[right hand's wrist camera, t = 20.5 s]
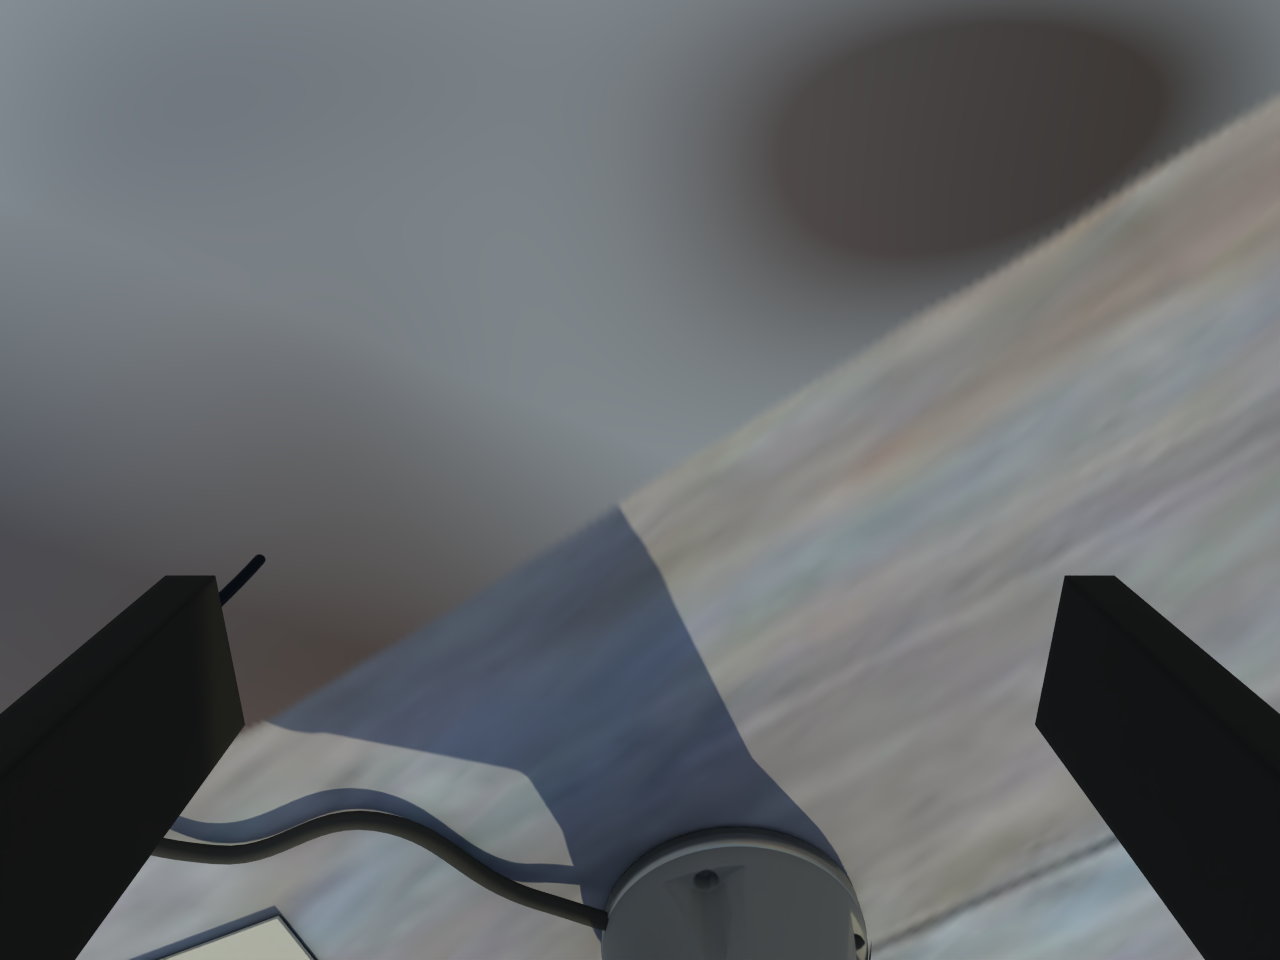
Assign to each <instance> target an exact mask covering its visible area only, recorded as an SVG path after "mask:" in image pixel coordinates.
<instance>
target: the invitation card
mask: <svg viewBox="0 0 1280 960" xmlns="http://www.w3.org/2000/svg"><path fill="white" fill-rule="evenodd" d="M160 960H314V959H313V958H312V957H311V955H310V954H309V953H308V952H307V950H306V949H305V948H304V947H303V945H302V944H301V943H300V942H299V940H298V939H297V938H296V937H295V935H294V934H293V933H292V932H291V931H290V929H289V928H288V927H287V926H286V924H285V923H284V922H283V921H282V919H281V918H280V917H279V916H276V917H274V918H271V919H268V920H266V921H263V922H260V923H257V924H255V925H252V926H249V927H247V928H244V929H241V930H238V931H236V932H233V933H230V934H228V935H225V936H222V937H219V938H217V939H214V940H211V941H209V942H206V943H203V944H200V945H198V946H195V947H192V948H190V949H187V950H184V951H181V952H179V953H176V954H173V955H171V956H168V957H165V958H162V959H160Z"/></svg>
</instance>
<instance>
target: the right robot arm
mask: <svg viewBox="0 0 1280 960" xmlns="http://www.w3.org/2000/svg"><path fill="white" fill-rule="evenodd" d="M265 561H266V559H265V557H264V556H263V555H261V554H258V555H256V556H255V557H254V558H253V559H252V560H251V561H250V562H249V563H248V564H247V565H246V566H245V567H244V568H243V569H242V570H241V571H240V572H239V573H238V574H237V575H236V576H235V577H234V578H233V579H232V580H231V581H230V582H229V583H228V584H227V585H226V586H225V587H224V588H223V589H222V590H221V591H220V592H218V587H217V582H216V577H215V576H165V577H163V578H162V579H161V580H160V581H159V582H157V583H156V584H155V585H154V586H153V587H151V588H150V589H149V590H148V591H147V592H145V593H144V594H143V595H142V596H141V597H139V598H138V599H137V600H136V601H135V602H134V603H132V604H131V605H130V606H129V607H128V608H126V609H125V610H124V611H123V612H122V613H120V614H119V615H118V616H117V617H116V618H114V619H113V620H112V621H111V622H110V623H108V624H107V625H106V626H105V627H104V628H102V629H101V630H100V631H99V632H98V633H96V634H95V635H94V636H93V637H92V638H91V639H89V640H88V641H87V642H86V643H85V644H83V645H82V646H81V647H80V648H79V649H77V650H76V651H75V652H74V653H73V654H71V655H70V656H69V657H68V658H67V659H66V660H64V661H63V662H62V663H61V664H59V665H58V666H57V667H56V668H55V669H54V670H52V671H51V672H50V673H49V674H48V675H46V676H45V677H44V678H43V679H42V680H40V681H39V682H38V683H37V684H36V685H34V686H33V687H32V688H31V689H30V690H28V691H27V692H26V693H25V694H24V695H22V696H21V697H20V698H19V699H18V700H17V701H15V702H14V703H13V704H12V705H11V706H9V707H8V708H7V709H6V710H5V711H3V712H2V713H1V714H0V960H75V959H76V958H77V956H78V955H79V953H80V952H81V951H82V949H83V948H84V947H85V945H86V944H87V942H88V941H89V940H90V938H91V937H92V936H93V934H94V933H95V931H96V930H97V929H98V927H99V926H100V924H101V923H102V922H103V920H104V919H105V918H106V916H107V915H108V913H109V912H110V911H111V909H112V908H113V906H114V905H115V904H116V902H117V901H118V900H119V898H120V897H121V895H122V894H123V893H124V891H125V890H126V888H127V887H128V886H129V884H130V883H131V882H132V880H133V879H134V877H135V876H136V875H137V873H138V872H139V871H140V869H141V868H142V866H143V865H144V864H145V862H146V861H147V859H148V858H149V857H150V855H152V856H157V857H162V858H168V859H174V860H182V861H190V862H198V863H208V864H240V863H247V862H252V861H257V860H261V859H264V858H267V857H270V856H273V855H276V854H278V853H281V852H283V851H286V850H288V849H291V848H293V847H295V846H297V845H300V844H302V843H304V842H307V841H309V840H312V839H315V838H317V837H320V836H323V835H327V834H330V833H334V832H339V831H345V830H370V831H378V832H383V833H388V834H392V835H395V836H399V837H402V838H404V839H407V840H409V841H412V842H414V843H416V844H418V845H420V846H422V847H424V848H425V849H427V850H429V851H431V852H432V853H434V854H435V855H437V856H438V857H440V858H441V859H443V860H444V861H446V862H447V863H449V864H450V865H452V866H453V867H454V868H456V869H457V870H459V871H460V872H462V873H463V874H464V875H466V876H467V877H469V878H470V879H472V880H473V881H475V882H477V883H478V884H480V885H482V886H483V887H485V888H487V889H489V890H490V891H492V892H494V893H496V894H498V895H500V896H502V897H504V898H507V899H509V900H511V901H514V902H516V903H519V904H521V905H524V906H527V907H530V908H533V909H536V910H539V911H543V912H546V913H549V914H553V915H556V916H559V917H562V918H565V919H568V920H571V921H575V922H578V923H581V924H584V925H587V926H590V927H594V928H597V929H600V930H602V943H601V952H602V960H868V943H867V934H866V927H865V921H864V918H863V915H862V912H861V908H860V905H859V902H858V899H857V896H856V893H855V891H854V888H853V886H852V884H851V883H850V881H849V879H848V878H847V876H846V875H845V874H844V872H843V871H842V870H841V869H840V868H839V866H838V865H837V864H835V863H834V862H833V861H832V860H831V859H830V858H829V857H828V856H826V855H825V854H824V853H822V852H821V851H819V850H818V849H816V848H815V847H813V846H811V845H809V844H807V843H805V842H803V841H801V840H799V839H797V838H794V837H791V836H789V835H785V834H782V833H779V832H775V831H770V830H765V829H758V828H747V827H725V828H715V829H708V830H703V831H698V832H694V833H690V834H687V835H684V836H681V837H678V838H675V839H673V840H671V841H668V842H666V843H664V844H662V845H660V846H658V847H656V848H655V849H653V850H651V851H650V852H648V853H647V854H645V855H644V856H642V857H641V858H640V859H639V860H637V861H636V862H635V863H634V864H633V865H632V866H631V867H630V868H629V869H628V870H627V871H626V872H625V873H624V874H623V875H622V877H621V878H620V879H619V880H618V882H617V883H616V885H615V887H614V888H613V890H612V892H611V894H610V896H609V898H608V900H607V903H606V906H605V910H604V911H602V910H599V909H596V908H593V907H590V906H587V905H583V904H580V903H577V902H574V901H571V900H568V899H565V898H562V897H558V896H555V895H552V894H548V893H545V892H542V891H539V890H535V889H532V888H530V887H527V886H524V885H522V884H519V883H517V882H515V881H513V880H510V879H508V878H506V877H504V876H502V875H500V874H499V873H497V872H495V871H493V870H492V869H490V868H488V867H487V866H485V865H484V864H482V863H481V862H479V861H478V860H476V859H475V858H473V857H472V856H470V855H469V854H468V853H466V852H465V851H463V850H462V849H461V848H459V847H458V846H456V845H455V844H453V843H452V842H450V841H449V840H447V839H446V838H445V837H443V836H441V835H440V834H438V833H436V832H435V831H433V830H431V829H429V828H427V827H425V826H423V825H421V824H419V823H416V822H414V821H411V820H409V819H405V818H402V817H398V816H395V815H390V814H385V813H380V812H369V811H349V812H341V813H335V814H330V815H326V816H323V817H320V818H316V819H314V820H311V821H309V822H306V823H303V824H301V825H299V826H296V827H294V828H292V829H290V830H287V831H285V832H283V833H280V834H278V835H275V836H273V837H270V838H267V839H264V840H261V841H258V842H254V843H249V844H245V845H234V846H223V845H209V844H199V843H191V842H184V841H177V840H172V839H166V838H163V837H164V836H165V835H166V833H167V832H168V830H169V829H170V828H171V826H172V825H173V823H174V822H175V821H176V819H177V818H178V817H179V815H180V814H181V812H182V811H183V810H184V808H185V807H186V805H187V804H188V803H189V801H190V800H191V799H192V797H193V796H194V794H195V793H196V792H197V790H198V789H199V788H200V786H201V785H202V783H203V782H204V781H205V779H206V778H207V776H208V775H209V774H210V772H211V771H212V770H213V768H214V767H215V765H216V764H217V763H218V761H219V760H220V758H221V757H222V756H223V754H224V753H225V752H226V750H227V749H228V747H229V746H230V745H231V743H232V742H233V740H234V739H235V738H236V736H237V735H238V734H239V732H240V731H241V729H242V728H243V727H244V725H245V722H244V717H243V712H242V708H241V702H240V697H239V692H238V687H237V682H236V677H235V672H234V667H233V662H232V657H231V652H230V647H229V642H228V637H227V632H226V627H225V622H224V617H223V612H222V606H223V605H224V604H225V603H226V602H227V601H228V600H229V599H231V598H232V596H233V595H234V594H236V593H237V591H239V589H241V588H242V587H243V585H244V584H245V583H246V582H247V581H248V580H249V579H250V578H251V577H252V576H253V575H254V574H255V573H256V572H257V571H258V569H259V568H260V567H261V566H262V565H263V564H264V563H265ZM1035 725H1036V727H1037V728H1038V729H1039V731H1040V732H1041V734H1042V735H1043V736H1044V738H1045V739H1046V740H1047V742H1048V743H1049V745H1050V746H1051V747H1052V749H1053V750H1054V752H1055V753H1056V754H1057V756H1058V757H1059V758H1060V760H1061V761H1062V763H1063V764H1064V765H1065V767H1066V768H1067V770H1068V771H1069V772H1070V774H1071V775H1072V776H1073V778H1074V779H1075V781H1076V782H1077V783H1078V785H1079V786H1080V788H1081V789H1082V790H1083V792H1084V793H1085V794H1086V796H1087V797H1088V799H1089V800H1090V801H1091V803H1092V804H1093V806H1094V807H1095V808H1096V810H1097V811H1098V812H1099V814H1100V815H1101V817H1102V818H1103V819H1104V821H1105V822H1106V823H1107V825H1108V826H1109V828H1110V829H1111V830H1112V832H1113V833H1114V835H1115V836H1116V837H1117V839H1118V840H1119V841H1120V843H1121V844H1122V846H1123V847H1124V848H1125V850H1126V851H1127V853H1128V854H1129V855H1130V857H1131V858H1132V859H1133V861H1134V862H1135V864H1136V865H1137V866H1138V868H1139V869H1140V871H1141V872H1142V873H1143V875H1144V876H1145V877H1146V879H1147V880H1148V882H1149V883H1150V884H1151V886H1152V887H1153V888H1154V890H1155V891H1156V893H1157V894H1158V895H1159V897H1160V898H1161V900H1162V901H1163V902H1164V904H1165V905H1166V906H1167V908H1168V909H1169V911H1170V912H1171V913H1172V915H1173V916H1174V918H1175V919H1176V920H1177V922H1178V923H1179V924H1180V926H1181V927H1182V929H1183V930H1184V931H1185V933H1186V934H1187V936H1188V937H1189V938H1190V940H1191V941H1192V942H1193V944H1194V945H1195V947H1196V948H1197V949H1198V951H1199V952H1200V953H1201V955H1202V956H1203V958H1204V959H1205V960H1280V714H1279V713H1278V712H1277V711H1275V710H1274V709H1273V708H1272V707H1271V706H1269V705H1268V704H1267V703H1266V702H1265V701H1263V700H1262V699H1261V698H1260V697H1259V696H1258V695H1256V694H1255V693H1254V692H1253V691H1252V690H1250V689H1249V688H1248V687H1247V686H1246V685H1244V684H1243V683H1242V682H1241V681H1240V680H1238V679H1237V678H1236V677H1235V676H1234V675H1232V674H1231V673H1230V672H1229V671H1228V670H1226V669H1225V668H1224V667H1223V666H1222V665H1221V664H1219V663H1218V662H1217V661H1216V660H1215V659H1213V658H1212V657H1211V656H1210V655H1209V654H1207V653H1206V652H1205V651H1204V650H1203V649H1201V648H1200V647H1199V646H1198V645H1197V644H1195V643H1194V642H1193V641H1192V640H1191V639H1189V638H1188V637H1187V636H1186V635H1185V634H1184V633H1182V632H1181V631H1180V630H1179V629H1178V628H1176V627H1175V626H1174V625H1173V624H1172V623H1170V622H1169V621H1168V620H1167V619H1166V618H1164V617H1163V616H1162V615H1161V614H1160V613H1158V612H1157V611H1156V610H1155V609H1154V608H1152V607H1151V606H1150V605H1149V604H1148V603H1146V602H1145V601H1144V600H1143V599H1142V598H1141V597H1139V596H1138V595H1137V594H1136V593H1135V592H1133V591H1132V590H1131V589H1130V588H1129V587H1127V586H1126V585H1125V584H1124V583H1123V582H1121V581H1120V580H1119V579H1118V578H1117V577H1115V576H1065V577H1064V582H1063V587H1062V592H1061V597H1060V602H1059V607H1058V612H1057V617H1056V622H1055V627H1054V632H1053V637H1052V642H1051V647H1050V652H1049V657H1048V662H1047V667H1046V672H1045V677H1044V682H1043V687H1042V692H1041V697H1040V702H1039V707H1038V712H1037V717H1036V722H1035ZM871 944H872V941H871ZM870 959H871V948H870V954H869V960H870Z"/></svg>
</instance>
